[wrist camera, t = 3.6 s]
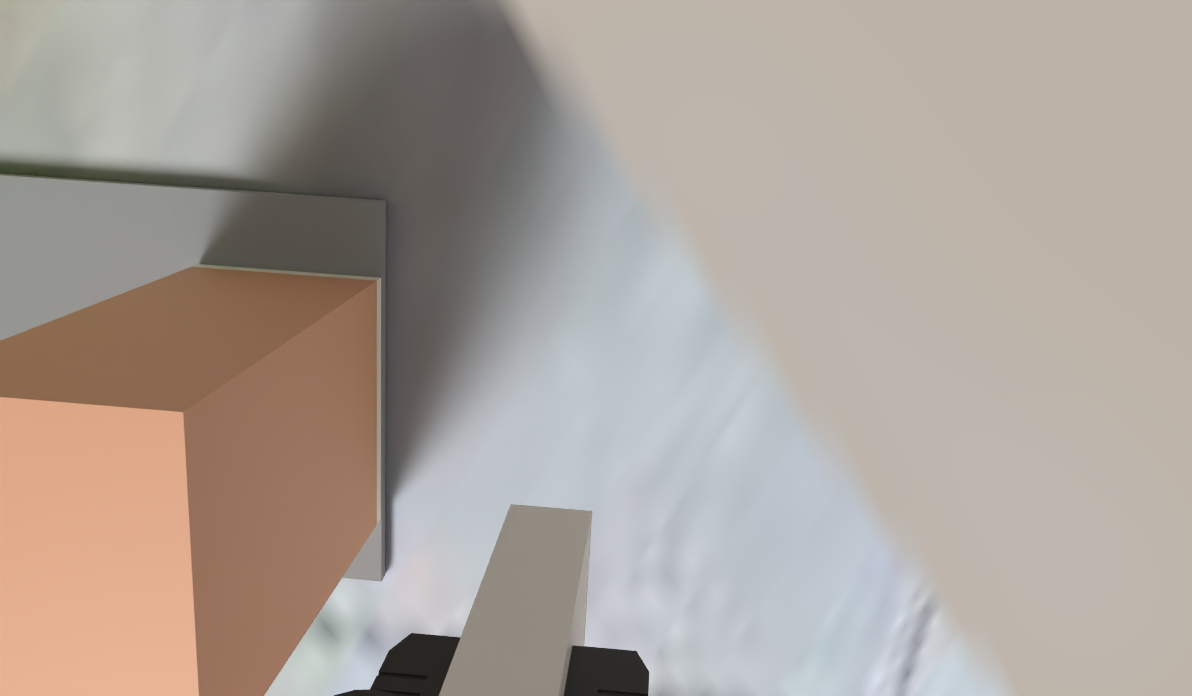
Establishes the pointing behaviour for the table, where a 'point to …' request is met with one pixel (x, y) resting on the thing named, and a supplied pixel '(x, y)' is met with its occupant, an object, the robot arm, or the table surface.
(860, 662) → the table surface
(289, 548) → the block
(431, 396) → the table surface
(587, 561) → the robot arm
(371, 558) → the mat
